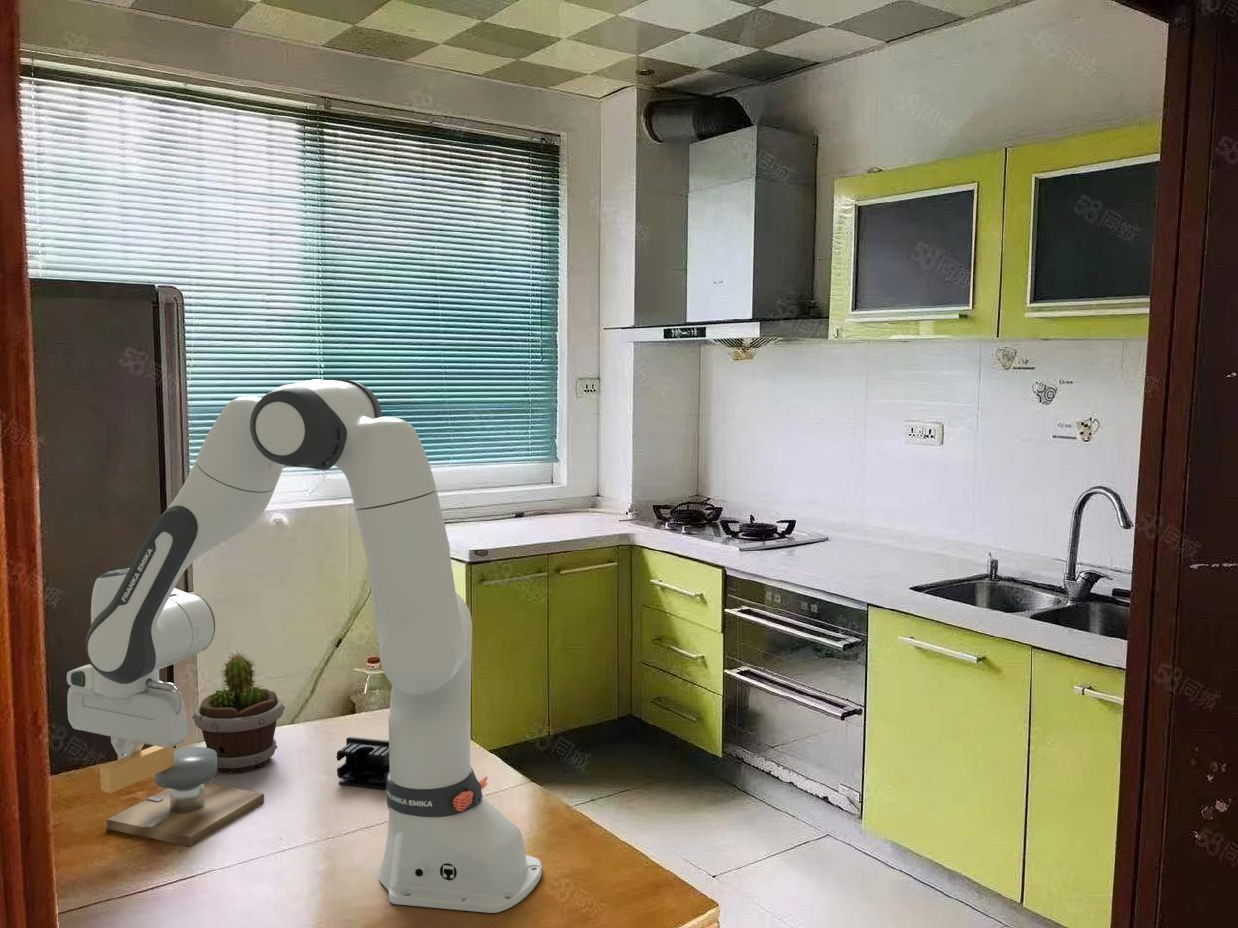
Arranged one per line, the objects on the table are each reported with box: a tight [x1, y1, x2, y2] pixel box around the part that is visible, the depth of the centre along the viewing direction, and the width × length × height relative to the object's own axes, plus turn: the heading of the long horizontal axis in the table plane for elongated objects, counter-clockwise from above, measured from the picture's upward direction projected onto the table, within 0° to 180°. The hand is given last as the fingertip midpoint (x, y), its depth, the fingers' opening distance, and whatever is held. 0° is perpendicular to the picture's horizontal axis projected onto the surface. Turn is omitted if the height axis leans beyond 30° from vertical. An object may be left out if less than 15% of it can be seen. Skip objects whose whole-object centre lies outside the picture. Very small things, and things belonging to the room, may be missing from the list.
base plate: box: [106, 782, 265, 847], centre depth 157 cm, size 16×16×2 cm
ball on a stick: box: [99, 745, 218, 794], centre depth 152 cm, size 18×9×6 cm, turn 155°
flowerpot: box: [191, 649, 286, 774], centre depth 177 cm, size 14×15×20 cm
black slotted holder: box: [336, 736, 390, 791], centre depth 170 cm, size 10×7×7 cm
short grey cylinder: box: [169, 783, 205, 813], centre depth 156 cm, size 5×5×4 cm
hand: (128, 764), depth 149 cm, fingers closed
